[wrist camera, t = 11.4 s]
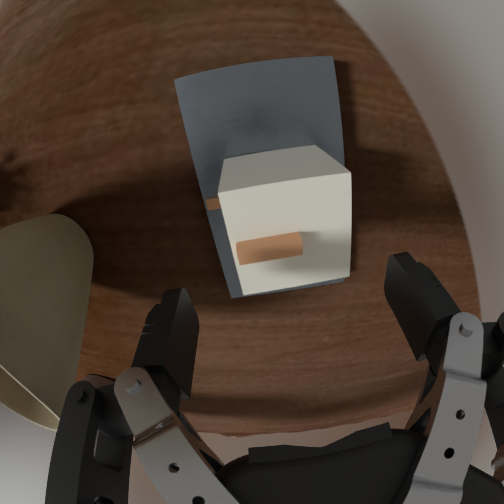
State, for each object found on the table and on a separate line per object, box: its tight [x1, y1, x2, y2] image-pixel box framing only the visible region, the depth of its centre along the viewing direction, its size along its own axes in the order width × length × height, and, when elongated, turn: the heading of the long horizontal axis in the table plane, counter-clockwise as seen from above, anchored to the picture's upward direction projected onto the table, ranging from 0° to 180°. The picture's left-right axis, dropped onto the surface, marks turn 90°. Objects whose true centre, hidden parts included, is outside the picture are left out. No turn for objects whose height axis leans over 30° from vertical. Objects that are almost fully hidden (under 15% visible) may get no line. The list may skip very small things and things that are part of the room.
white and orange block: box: [218, 145, 352, 295], centre depth 15 cm, size 6×6×7 cm
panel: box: [174, 56, 345, 298], centre depth 17 cm, size 18×10×6 cm, turn 10°
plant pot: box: [0, 214, 94, 432], centre depth 16 cm, size 15×15×16 cm
